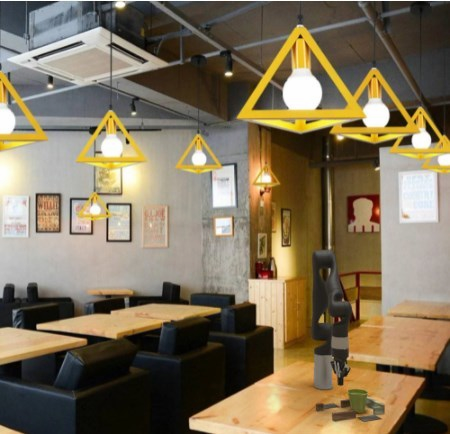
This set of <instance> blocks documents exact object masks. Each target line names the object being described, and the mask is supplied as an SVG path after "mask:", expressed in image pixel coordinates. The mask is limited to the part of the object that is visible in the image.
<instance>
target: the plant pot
mask: <svg viewBox="0 0 450 434" xmlns="http://www.w3.org/2000/svg"><path fill="white" fill-rule="evenodd" d="M346 393H347V394H348V399H349V400H350V406H351V407H350V410H355V411H356V413H358V414H364V413H365V411H366V407H367V406H366V399H367V396H368V395H369V391H368V390H366V389H362V388H351V389H350V388H349V389H347V390H346Z"/></svg>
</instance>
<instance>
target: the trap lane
mask: <svg viewBox="0 0 450 434" xmlns="http://www.w3.org/2000/svg"><path fill="white" fill-rule="evenodd" d="M349 407H350V408H351V406H350V400H349V398H348V399H341V400H340V405H338V404H337V403H334V402H332V403H323V402H319V403H318V402H316V403H315V411H316V412H323V411H324V410H329V409H333V408H334V409H335V408H343V409H345V408H349ZM366 407H367V408H369V409H370V410H372V414H370V415H364V416H363V415H362V416H357V412H356V411H355V410H351V409H350V410H346V411H338V412H332V415H331V420H332V421H333V422H339V421H345V420H351V419H352V420H353V419H358V420H360V421H362V422H364V423H365V422H373V421H377V420H382V417H380V416H379V415H385V414H386V412H385V410H386V406H385V404H384V403H382V402H380V401H379V400H375V399H374V398H371V397H369V396H368V395H367V399H366Z"/></svg>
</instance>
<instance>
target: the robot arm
mask: <svg viewBox="0 0 450 434" xmlns="http://www.w3.org/2000/svg"><path fill="white" fill-rule="evenodd" d="M337 263H338V262H337V258H336V254H335V252H334V250H333V249H320V250H319V249H318V250H317V249H316V250H313V252H312V254H311V265H312V268H311V269H312V293H311V294H312V295H311V297H312V298H311V304H312V305H311V307H312V308H311V309H312V310H311V311H312V313H311V314H312V315H311V327H310V329H311V330H310V336H311V338H312V340H313V341H317V342H318V341H320V342H321V341H322V342H324V343H323V344H321V345H318V346H316V347H315V348H314V349H313V350H314V351H313V357H314V359H313V361H314V363H313V364H314V365H313V366H314V367H313V386H314V388H315V389H317V390H331V389H333V373H334V375H336V380H337V381H336V382H337V386H339V387H342V386H344V380H345V379H344V378H347V377H348V375H349V373H350V372H351V367H350V366H348V358H349V357H350V349H349V348H350V341H349V324H350V320H351V317H352V313H353V306H352V303H350V301H347V300H344V292H343V289H342V286H341V282H340V276H339V268H338V264H337ZM324 269H325V270H327V269H330V272H329V274H328V277H327V279H326V281H325V279H324V278H323V277H322V275H321V273H320V270H324ZM343 300H344V301H343ZM326 310H327V313H328V315H329V316H330V317H331V318H341V320H339V321H336V322H333V323H331V322H319V321H320V319H321V318H322V316H323V315H324V313H325V312H326Z"/></svg>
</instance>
